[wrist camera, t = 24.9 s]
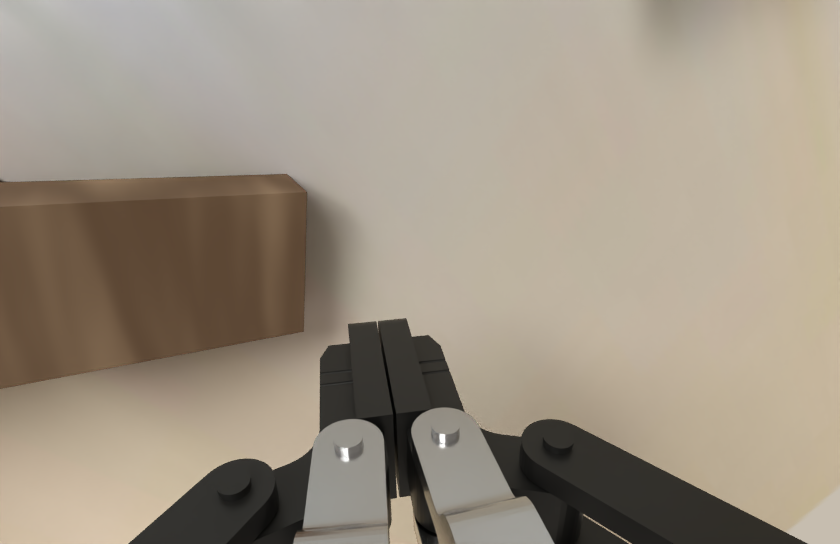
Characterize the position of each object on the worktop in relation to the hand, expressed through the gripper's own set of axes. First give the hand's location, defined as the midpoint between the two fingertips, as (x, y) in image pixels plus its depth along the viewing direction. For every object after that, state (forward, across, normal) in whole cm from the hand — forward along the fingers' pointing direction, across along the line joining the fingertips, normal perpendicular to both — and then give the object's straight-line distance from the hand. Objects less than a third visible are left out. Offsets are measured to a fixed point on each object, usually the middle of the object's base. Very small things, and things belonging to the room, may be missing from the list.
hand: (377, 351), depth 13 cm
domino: (+5, +2, -1) cm, 6 cm away
